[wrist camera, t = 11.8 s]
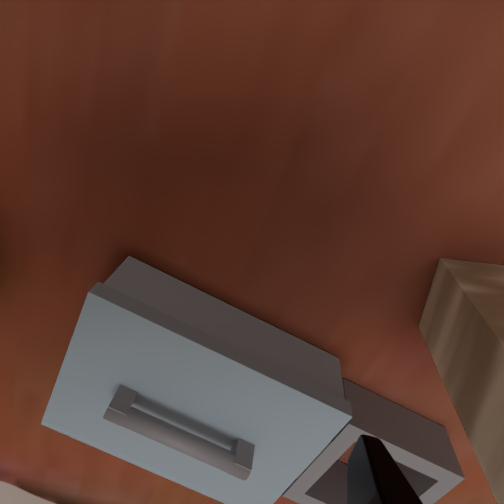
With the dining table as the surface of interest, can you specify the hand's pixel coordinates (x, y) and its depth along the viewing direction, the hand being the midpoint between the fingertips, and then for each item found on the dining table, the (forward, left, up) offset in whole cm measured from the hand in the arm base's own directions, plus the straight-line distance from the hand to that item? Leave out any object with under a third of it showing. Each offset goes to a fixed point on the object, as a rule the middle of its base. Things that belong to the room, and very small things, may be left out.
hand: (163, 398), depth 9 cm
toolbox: (+4, -12, -13) cm, 18 cm away
